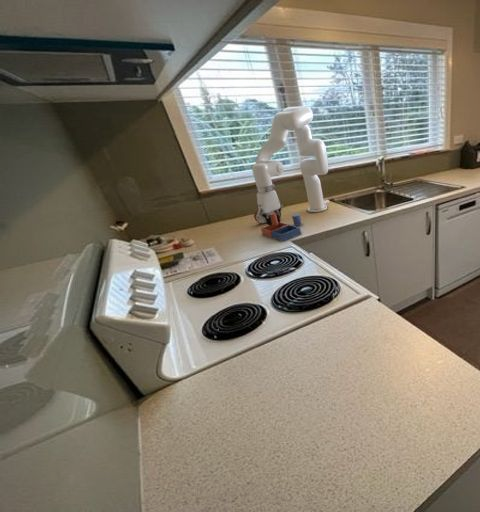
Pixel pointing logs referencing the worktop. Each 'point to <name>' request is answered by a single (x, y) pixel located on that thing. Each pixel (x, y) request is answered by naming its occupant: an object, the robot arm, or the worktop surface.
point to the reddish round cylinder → (273, 218)
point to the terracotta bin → (272, 229)
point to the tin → (261, 217)
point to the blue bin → (286, 232)
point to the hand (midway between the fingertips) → (273, 223)
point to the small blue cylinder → (296, 220)
